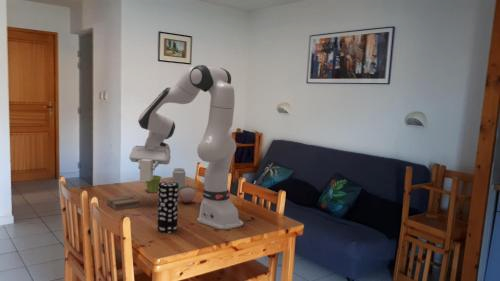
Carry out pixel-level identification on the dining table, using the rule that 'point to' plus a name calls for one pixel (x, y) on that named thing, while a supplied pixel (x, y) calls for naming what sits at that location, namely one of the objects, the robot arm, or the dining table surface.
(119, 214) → the dining table surface
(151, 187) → the plant pot
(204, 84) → the robot arm
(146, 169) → the block
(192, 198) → the decorative fruit
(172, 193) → the spotted tube
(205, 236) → the dining table surface
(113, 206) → the base
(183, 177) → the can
